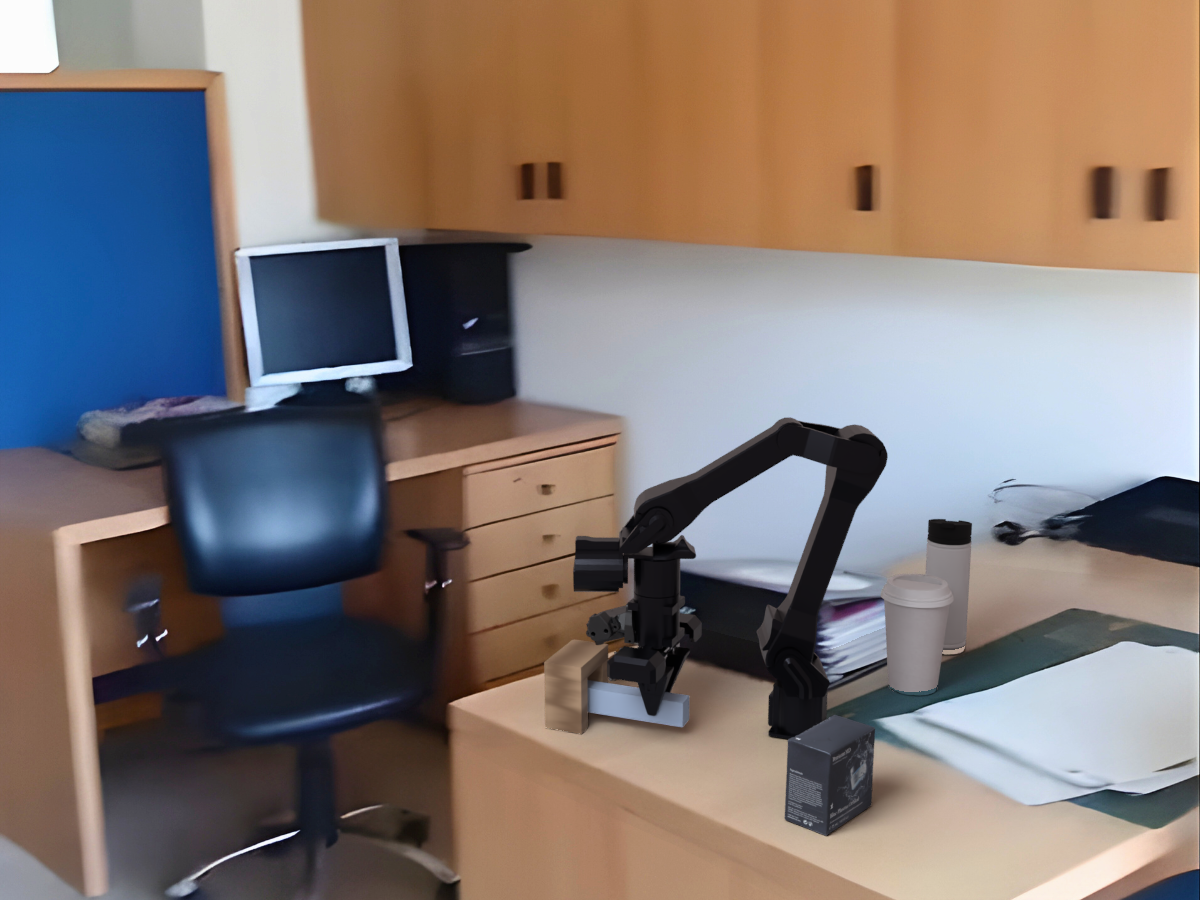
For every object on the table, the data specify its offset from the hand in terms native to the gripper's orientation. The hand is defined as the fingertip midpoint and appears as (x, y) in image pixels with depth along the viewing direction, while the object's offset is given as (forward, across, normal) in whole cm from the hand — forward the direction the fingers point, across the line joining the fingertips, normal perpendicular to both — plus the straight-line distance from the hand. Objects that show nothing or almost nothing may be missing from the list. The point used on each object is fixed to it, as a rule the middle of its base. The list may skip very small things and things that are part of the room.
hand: (655, 710), depth 156 cm
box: (+3, +14, +25) cm, 28 cm away
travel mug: (+3, -44, +30) cm, 53 cm away
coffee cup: (+3, -26, +28) cm, 39 cm away
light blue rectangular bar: (+1, 0, -4) cm, 4 cm away
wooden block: (+3, 0, -11) cm, 11 cm away
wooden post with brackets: (+3, -13, -12) cm, 18 cm away
